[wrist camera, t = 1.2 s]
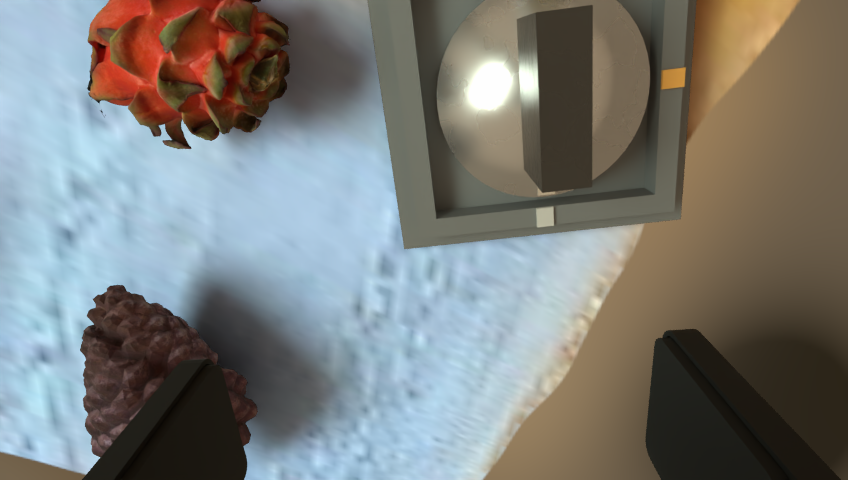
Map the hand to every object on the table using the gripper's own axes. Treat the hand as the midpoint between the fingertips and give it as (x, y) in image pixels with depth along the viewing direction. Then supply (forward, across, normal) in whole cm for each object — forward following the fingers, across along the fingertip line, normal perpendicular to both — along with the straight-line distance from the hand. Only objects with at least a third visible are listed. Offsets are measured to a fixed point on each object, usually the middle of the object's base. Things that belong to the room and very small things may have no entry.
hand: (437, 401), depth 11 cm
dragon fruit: (+23, +13, -8) cm, 28 cm away
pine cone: (+23, +19, +14) cm, 33 cm away
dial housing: (+23, -6, -4) cm, 24 cm away
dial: (+21, -6, -4) cm, 23 cm away
